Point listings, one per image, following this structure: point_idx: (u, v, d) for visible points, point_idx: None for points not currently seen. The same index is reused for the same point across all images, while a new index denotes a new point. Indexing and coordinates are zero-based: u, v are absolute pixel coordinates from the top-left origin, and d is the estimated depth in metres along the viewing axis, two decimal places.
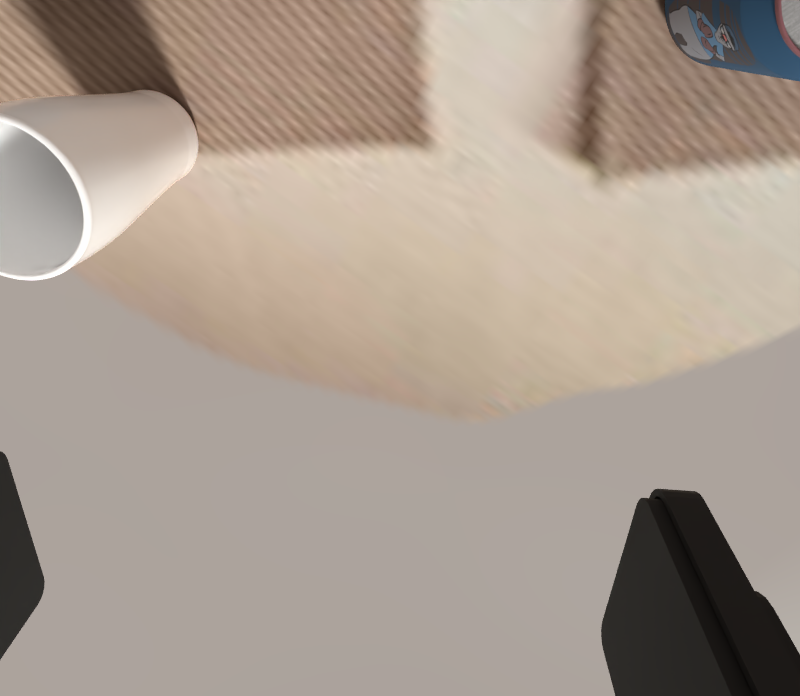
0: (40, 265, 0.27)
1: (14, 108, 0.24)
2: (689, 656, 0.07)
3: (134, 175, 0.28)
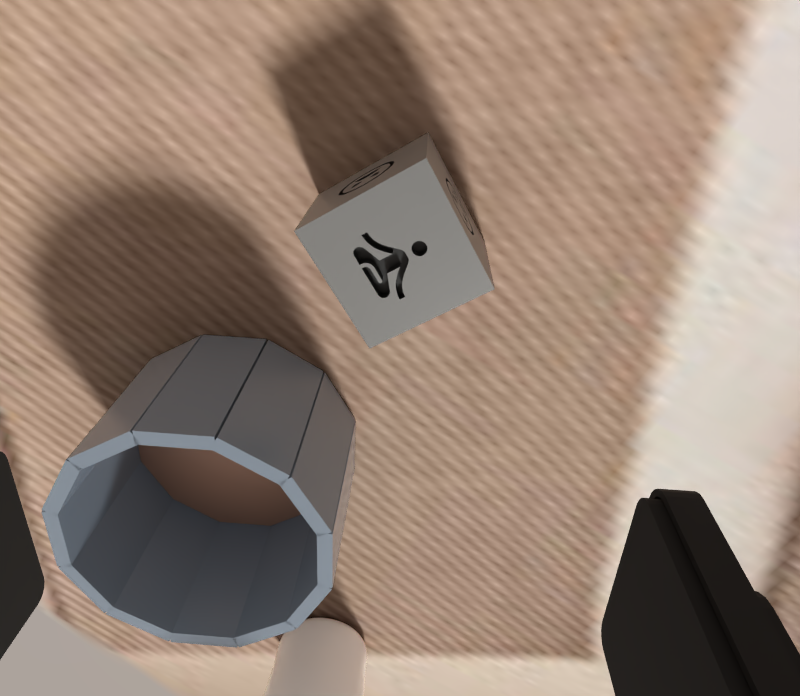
0: None
1: None
2: (689, 656, 0.07)
3: None
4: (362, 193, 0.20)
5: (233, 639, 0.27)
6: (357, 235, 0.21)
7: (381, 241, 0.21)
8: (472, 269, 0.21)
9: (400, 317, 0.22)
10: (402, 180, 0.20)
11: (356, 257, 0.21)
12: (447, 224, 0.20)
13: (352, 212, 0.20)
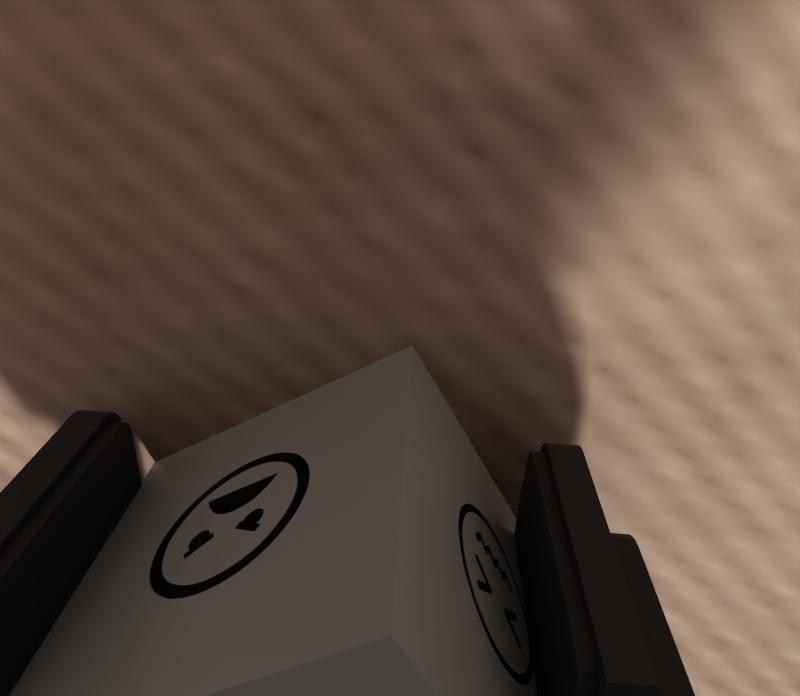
0: None
1: None
2: (547, 583, 0.08)
3: None
4: None
5: None
6: None
7: None
8: None
9: None
10: (302, 687, 0.05)
11: None
12: None
13: None
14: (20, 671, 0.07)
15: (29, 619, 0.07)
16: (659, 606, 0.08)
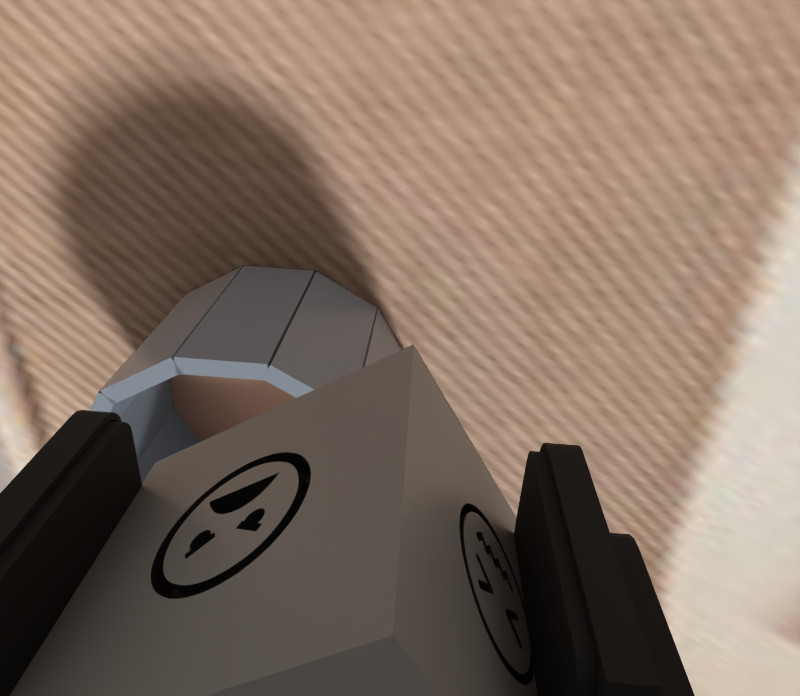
0: None
1: None
2: (547, 583, 0.08)
3: None
4: None
5: None
6: None
7: None
8: None
9: None
10: (304, 687, 0.05)
11: None
12: None
13: None
14: (21, 670, 0.07)
15: (30, 618, 0.07)
16: (658, 606, 0.08)
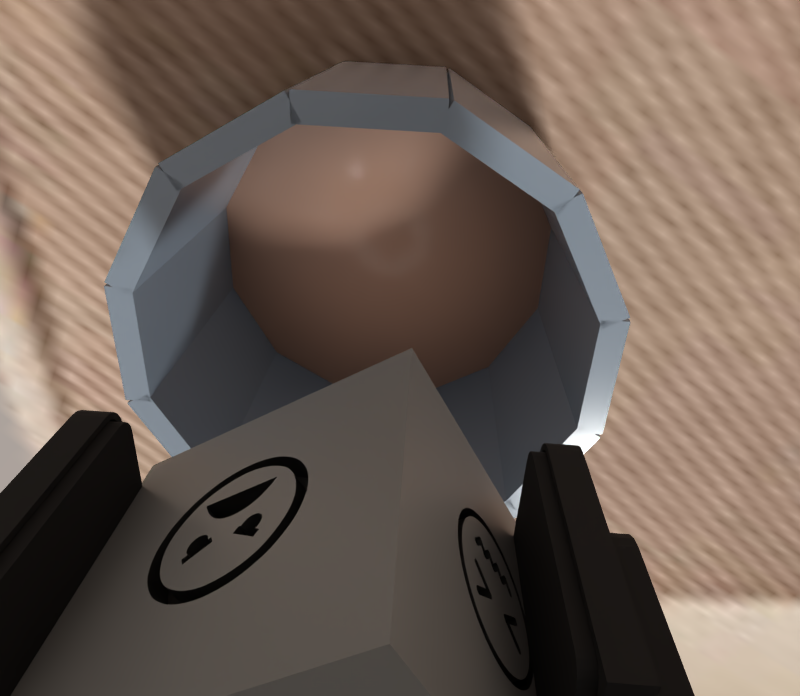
0: None
1: None
2: (547, 583, 0.08)
3: None
4: None
5: None
6: None
7: None
8: None
9: None
10: (301, 695, 0.05)
11: None
12: None
13: None
14: (21, 670, 0.07)
15: (29, 618, 0.07)
16: (659, 606, 0.08)
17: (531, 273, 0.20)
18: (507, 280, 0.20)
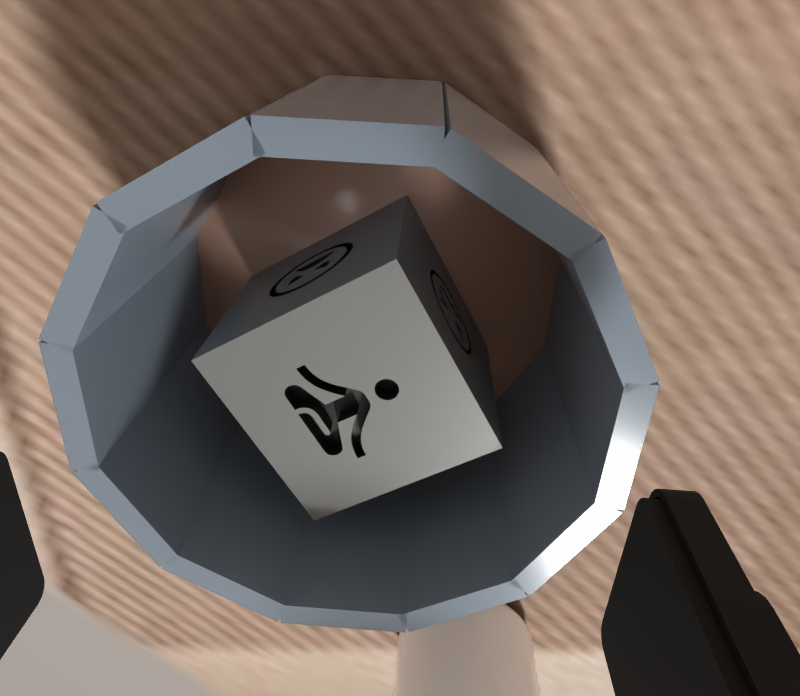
0: None
1: None
2: (689, 656, 0.07)
3: None
4: (295, 308, 0.13)
5: (400, 617, 0.14)
6: (289, 369, 0.13)
7: (326, 377, 0.13)
8: (468, 421, 0.14)
9: (359, 481, 0.15)
10: (358, 291, 0.12)
11: (289, 398, 0.14)
12: (430, 356, 0.13)
13: (280, 336, 0.13)
14: None
15: None
16: None
17: (537, 309, 0.18)
18: (510, 316, 0.18)
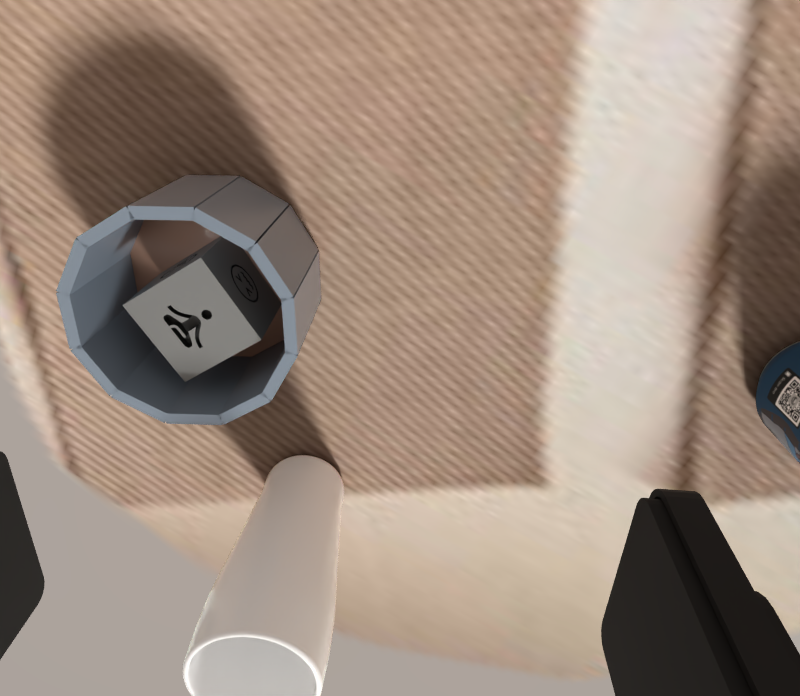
0: None
1: (262, 613, 0.29)
2: (689, 656, 0.07)
3: (334, 610, 0.33)
4: (163, 280, 0.31)
5: (218, 416, 0.32)
6: (164, 307, 0.31)
7: (180, 310, 0.31)
8: (244, 327, 0.32)
9: (202, 360, 0.32)
10: (187, 271, 0.30)
11: (166, 321, 0.32)
12: (222, 298, 0.31)
13: (158, 292, 0.31)
14: None
15: None
16: None
17: None
18: None
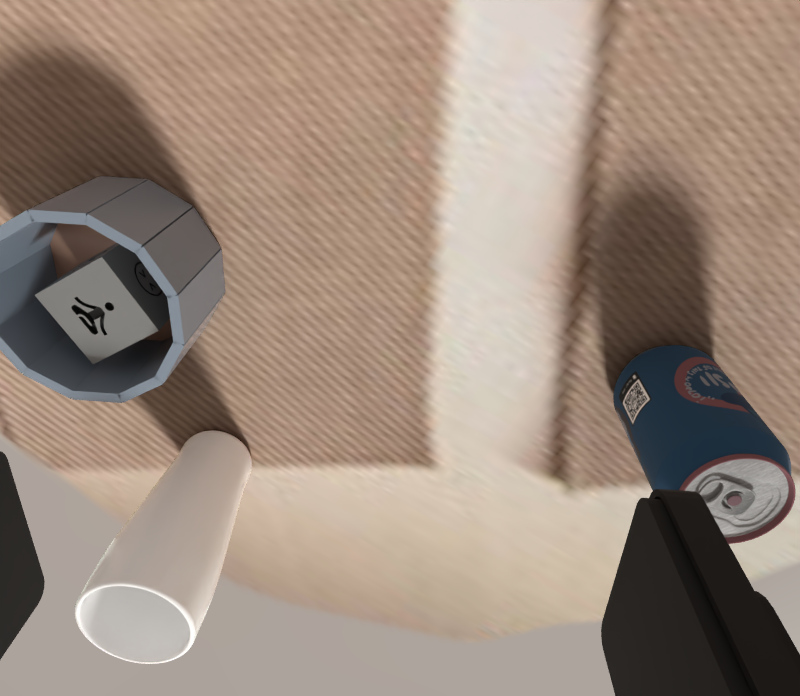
0: (152, 643, 0.37)
1: (143, 567, 0.34)
2: (689, 656, 0.07)
3: (218, 567, 0.37)
4: (70, 275, 0.35)
5: (118, 395, 0.36)
6: (71, 298, 0.35)
7: (86, 301, 0.35)
8: (143, 319, 0.36)
9: (107, 346, 0.37)
10: (90, 268, 0.34)
11: (74, 310, 0.36)
12: (122, 293, 0.35)
13: (66, 285, 0.35)
14: None
15: None
16: None
17: None
18: None
